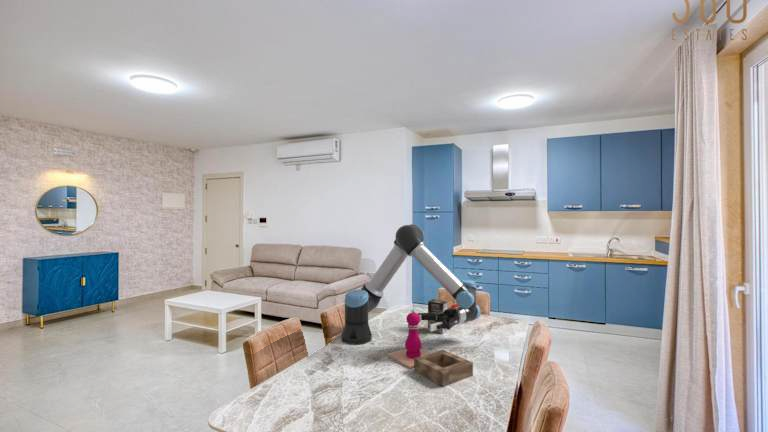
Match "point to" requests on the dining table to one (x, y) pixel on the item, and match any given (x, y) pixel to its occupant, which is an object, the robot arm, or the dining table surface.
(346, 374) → the dining table surface
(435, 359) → the walnut holder
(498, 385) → the dining table surface
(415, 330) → the pepper mill
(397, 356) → the terracotta tile
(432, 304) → the coffee box
